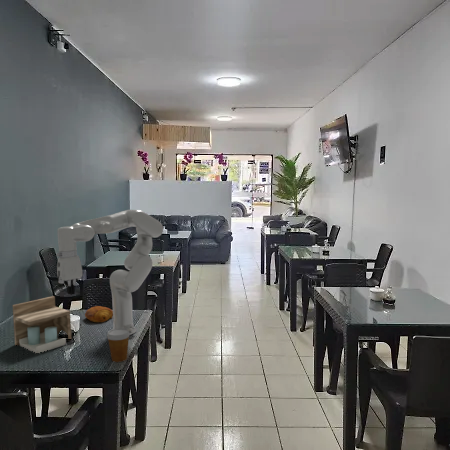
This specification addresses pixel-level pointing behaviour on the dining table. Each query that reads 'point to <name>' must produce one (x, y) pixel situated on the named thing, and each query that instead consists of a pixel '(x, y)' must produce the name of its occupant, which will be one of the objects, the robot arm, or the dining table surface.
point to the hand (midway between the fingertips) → (71, 293)
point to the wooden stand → (40, 317)
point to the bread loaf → (99, 314)
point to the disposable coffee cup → (118, 344)
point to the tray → (42, 345)
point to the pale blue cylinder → (50, 334)
